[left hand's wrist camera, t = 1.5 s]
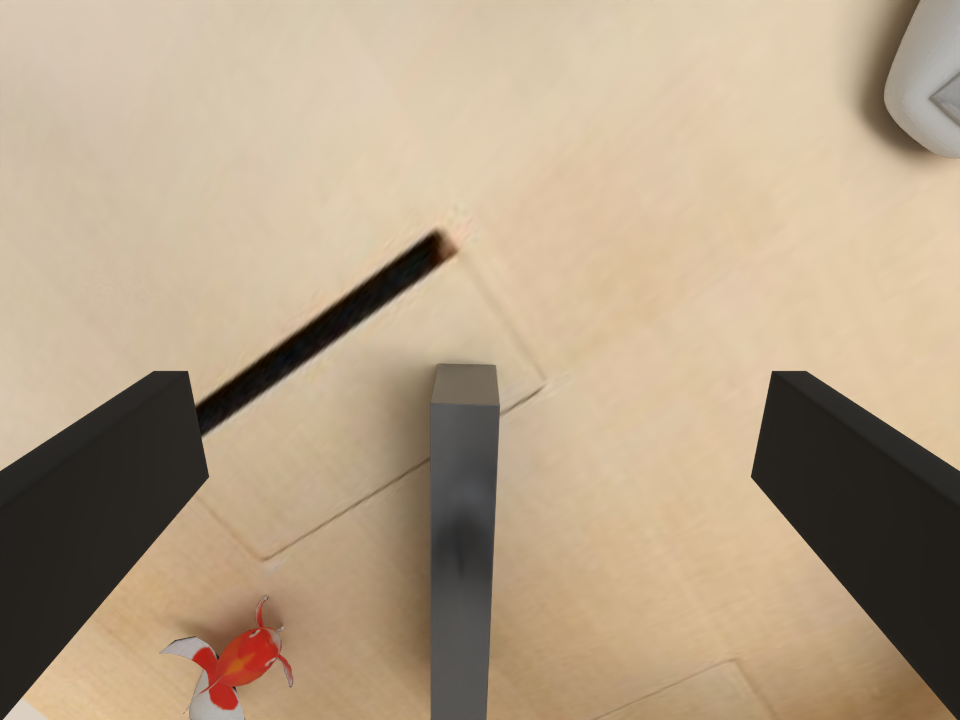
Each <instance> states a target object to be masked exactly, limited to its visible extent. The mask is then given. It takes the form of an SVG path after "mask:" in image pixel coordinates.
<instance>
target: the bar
mask: <svg viewBox="0 0 960 720" xmlns="http://www.w3.org/2000/svg"><path fill="white" fill-rule="evenodd" d="M499 414H500V402H499V392H498V382H497V373H496V365H463V364H438V368H437V373H436V378H435V383H434V388H433V393H432V398H431V403H430V551H431V720H486V714H487V691H488V668H489V645H490V622H491V599H492V576H493V553H494V530H495V507H496V484H497V461H498V437H499Z"/></svg>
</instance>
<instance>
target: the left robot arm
mask: <svg viewBox="0 0 960 720" xmlns="http://www.w3.org/2000/svg"><path fill="white" fill-rule="evenodd" d="M208 478H209V474H208V469H207V464H206V459H205V454H204V449H203V444H202V439H201V434H200V429H199V424H198V419H197V414H196V409H195V404H194V399H193V394H192V389H191V384H190V379H189V374H188V371H153V372H152V373H150V374H149V375H147V376H145V377H144V378H142V379H141V380H139V381H138V382H136V383H135V384H133V385H132V386H130V387H129V388H127V389H126V390H124V391H122V392H121V393H119V394H118V395H116V396H115V397H113V398H112V399H110V400H109V401H107V402H106V403H104V404H103V405H101V406H100V407H98V408H96V409H95V410H93V411H92V412H90V413H89V414H87V415H86V416H84V417H83V418H81V419H80V420H78V421H77V422H75V423H73V424H72V425H70V426H69V427H67V428H66V429H64V430H63V431H61V432H60V433H58V434H57V435H55V436H54V437H52V438H50V439H49V440H47V441H46V442H44V443H43V444H41V445H40V446H38V447H37V448H35V449H34V450H32V451H31V452H29V453H27V454H26V455H24V456H23V457H21V458H20V459H18V460H17V461H15V462H14V463H12V464H11V465H9V466H8V467H6V468H4V469H3V470H1V471H0V720H3V719H4V718H5V716H6V715H7V714H8V713H9V712H10V711H11V709H12V708H13V707H14V706H15V705H16V704H17V702H18V701H19V700H20V699H21V698H22V697H23V695H24V694H25V693H26V692H27V691H28V689H29V688H30V687H31V686H32V685H33V684H34V682H35V681H36V680H37V679H38V678H39V677H40V675H41V674H42V673H43V672H44V671H45V669H46V668H47V667H48V666H49V665H50V664H51V662H52V661H53V660H54V659H55V658H56V657H57V655H58V654H59V653H60V652H61V651H62V649H63V648H64V647H65V646H66V645H67V644H68V642H69V641H70V640H71V639H72V638H73V637H74V635H75V634H76V633H77V632H78V631H79V629H80V628H81V627H82V626H83V625H84V624H85V622H86V621H87V620H88V619H89V618H90V617H91V615H92V614H93V613H94V612H95V611H96V609H97V608H98V607H99V606H100V605H101V604H102V602H103V601H104V600H105V599H106V598H107V597H108V595H109V594H110V593H111V592H112V591H113V589H114V588H115V587H116V586H117V585H118V584H119V582H120V581H121V580H122V579H123V578H124V577H125V575H126V574H127V573H128V572H129V571H130V569H131V568H132V567H133V566H134V565H135V564H136V562H137V561H138V560H139V559H140V558H141V557H142V555H143V554H144V553H145V552H146V551H147V549H148V548H149V547H150V546H151V545H152V544H153V542H154V541H155V540H156V539H157V538H158V537H159V535H160V534H161V533H162V532H163V531H164V529H165V528H166V527H167V526H168V525H169V524H170V522H171V521H172V520H173V519H174V518H175V517H176V515H177V514H178V513H179V512H180V511H181V509H182V508H183V507H184V506H185V505H186V504H187V502H188V501H189V500H190V499H191V498H192V497H193V495H194V494H195V493H196V492H197V491H198V489H199V488H200V487H201V486H202V485H203V484H204V482H205V481H206V480H207V479H208ZM751 478H752V479H753V480H754V481H755V482H756V484H757V485H758V486H759V487H760V488H761V489H762V491H763V492H764V493H765V494H766V495H767V497H768V498H769V499H770V500H771V501H772V502H773V504H774V505H775V506H776V507H777V508H778V509H779V511H780V512H781V513H782V514H783V515H784V517H785V518H786V519H787V520H788V521H789V522H790V524H791V525H792V526H793V527H794V528H795V529H796V531H797V532H798V533H799V534H800V535H801V537H802V538H803V539H804V540H805V541H806V542H807V544H808V545H809V546H810V547H811V548H812V549H813V551H814V552H815V553H816V554H817V555H818V557H819V558H820V559H821V560H822V561H823V562H824V564H825V565H826V566H827V567H828V568H829V569H830V571H831V572H832V573H833V574H834V575H835V577H836V578H837V579H838V580H839V581H840V582H841V584H842V585H843V586H844V587H845V588H846V589H847V591H848V592H849V593H850V594H851V595H852V597H853V598H854V599H855V600H856V601H857V602H858V604H859V605H860V606H861V607H862V608H863V609H864V611H865V612H866V613H867V614H868V615H869V617H870V618H871V619H872V620H873V621H874V622H875V624H876V625H877V626H878V627H879V628H880V629H881V631H882V632H883V633H884V634H885V635H886V637H887V638H888V639H889V640H890V641H891V642H892V644H893V645H894V646H895V647H896V648H897V649H898V651H899V652H900V653H901V654H902V655H903V657H904V658H905V659H906V660H907V661H908V662H909V664H910V665H911V666H912V667H913V668H914V669H915V671H916V672H917V673H918V674H919V675H920V677H921V678H922V679H923V680H924V681H925V682H926V684H927V685H928V686H929V687H930V688H931V689H932V691H933V692H934V693H935V694H936V695H937V697H938V698H939V699H940V700H941V701H942V702H943V704H944V705H945V706H946V707H947V708H948V709H949V711H950V712H951V713H952V714H953V715H954V717H955V718H956V719H957V720H960V471H959V470H957V469H956V468H954V467H952V466H951V465H949V464H948V463H946V462H945V461H943V460H942V459H940V458H939V457H937V456H936V455H934V454H933V453H931V452H929V451H928V450H926V449H925V448H923V447H922V446H920V445H919V444H917V443H916V442H914V441H913V440H911V439H910V438H908V437H906V436H905V435H903V434H902V433H900V432H899V431H897V430H896V429H894V428H893V427H891V426H890V425H888V424H887V423H885V422H883V421H882V420H880V419H879V418H877V417H876V416H874V415H873V414H871V413H870V412H868V411H867V410H865V409H864V408H862V407H860V406H859V405H857V404H856V403H854V402H853V401H851V400H850V399H848V398H847V397H845V396H844V395H842V394H841V393H839V392H838V391H836V390H834V389H833V388H831V387H830V386H828V385H827V384H825V383H824V382H822V381H821V380H819V379H818V378H816V377H815V376H813V375H811V374H810V373H808V372H807V371H772V374H771V379H770V384H769V389H768V394H767V399H766V404H765V409H764V414H763V419H762V424H761V429H760V434H759V439H758V444H757V449H756V454H755V459H754V464H753V469H752V474H751Z"/></svg>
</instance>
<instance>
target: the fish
mask: <svg viewBox="0 0 960 720" xmlns="http://www.w3.org/2000/svg"><path fill="white" fill-rule="evenodd" d="M268 598H269V597H267V596H264V597H263V598H262V600H261V601H260V602H259V604H258V607H257V609H256V613H255V618H256V623H257V627H258V628H257V629H253V630H249V631H247V632H245V633H243V634H242V635H240V636H238V637H236V638H235V639H234V640H233V641H232V642H231V643H230V644H229V645H228V646H227V647H226V648H225V650H224V651H223V653H222V654H221V656H220V657H219V656H218V655H217V654H216V653H215V651H214V650H213V649H212V648H211V646H210V645H208V644H207V643H205V642H204V641H202V640H200V639H199V638H197V637H195V636H194V637H189V638H184V639H179V640H175V641H174V642H172V643H171V644H170V645H169V646H167V647H166V648H165V649H164V650H162V651H161V652H160V653H171V654H177V655H181V656H184V657H186V658H188V659H191V660H192V661H194V662H196V663H197V664H199V665H200V666H201V667H202V668H203V673H202V675H201V677H200V679H199V682H198V684H197V686H196V689H195V691H194V694H193V698H192V701H191V703H190V705H189V706H190V711H189V718H190V720H245V718H244V714H243V711H242V708H241V704H240V701H239V698H238V695H237V691H236V688H235V686H240V685H245V684H248V683H250V682H252V681H254V680H256V679H257V678H259V677H260V676H262V675H263V674H264V673H265V672H266V671H267V670H268V669H269V668H270V667H271V665H272V664H273V663H274V662H275V660H276V659H278V660H280V661H281V662H282V664H283V667H284V671H285V674H286V676H287V679H288V682H289V687H292V684H293V677H292V673H291V667H290V665H289V664H288V662H287V660H286V659H285V658H284V657H282V656H281V655H280V651H281V646H282V641H281V638H280V635H279V631H282V630H283V629H284V627H283V626H282V627H280V628H279V629H277V630H274V629H272V628H270V627H263V621H262V604H263V602H264V601H266V600H268ZM189 706H188V708H189ZM188 708H187V709H188ZM187 709H186V710H187ZM184 713H185V712H184ZM184 713H183V714H184Z"/></svg>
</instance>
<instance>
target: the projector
mask: <svg viewBox="0 0 960 720" xmlns="http://www.w3.org/2000/svg"><path fill="white" fill-rule="evenodd" d="M884 101H885V105H886V107H887V110H888V112H889V113H890V115H891V116H892V118H893V119H894V121H895V122H896V123H897V124H898V125H899V126H900V127H901V128H902V129H903V130H904V131H905V132H906V133H907V134H908V135H910V136H911V137H912V138H913V139H915V140H916V141H917V142H918V143H920V144H921V145H922V146H924V147H925V148H926V149H928V150H929V151H931V152H933V153H935V154H937V155H940V156H942V157H946V158H953V159H958V158H960V0H920V2H919V4H918V6H917V8H916V10H915V12H914V14H913V17H912V19H911V21H910V23H909V26H908V28H907V30H906V32H905V34H904V37H903V39H902V41H901V44H900V46H899V49H898V51H897V54H896V56H895V59H894V61H893V64H892V66H891V69H890V72H889V75H888V78H887V81H886V85H885V90H884Z"/></svg>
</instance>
